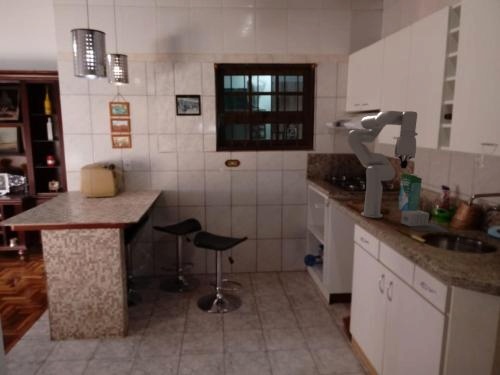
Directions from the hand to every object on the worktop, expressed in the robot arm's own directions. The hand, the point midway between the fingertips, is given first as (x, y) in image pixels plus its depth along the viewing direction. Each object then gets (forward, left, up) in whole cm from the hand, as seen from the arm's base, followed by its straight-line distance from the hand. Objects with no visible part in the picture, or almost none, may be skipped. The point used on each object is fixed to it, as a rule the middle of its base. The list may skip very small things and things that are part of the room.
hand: (403, 168), depth 200 cm
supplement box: (+1, +4, -28) cm, 28 cm away
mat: (+2, +15, -32) cm, 35 cm away
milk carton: (-44, +24, -32) cm, 60 cm away
